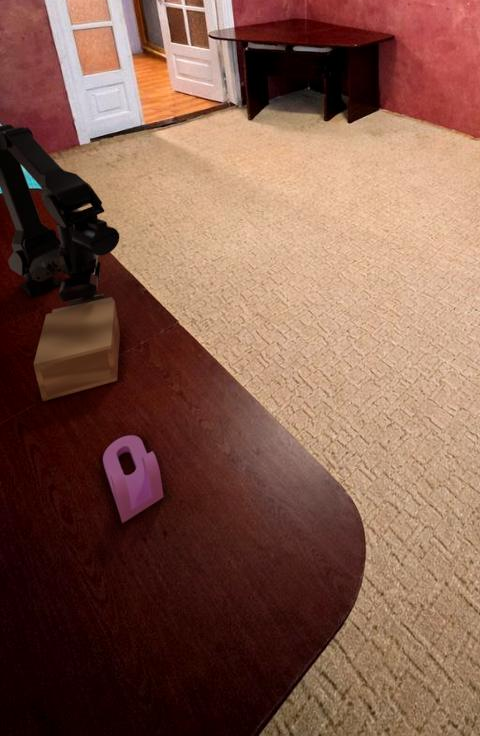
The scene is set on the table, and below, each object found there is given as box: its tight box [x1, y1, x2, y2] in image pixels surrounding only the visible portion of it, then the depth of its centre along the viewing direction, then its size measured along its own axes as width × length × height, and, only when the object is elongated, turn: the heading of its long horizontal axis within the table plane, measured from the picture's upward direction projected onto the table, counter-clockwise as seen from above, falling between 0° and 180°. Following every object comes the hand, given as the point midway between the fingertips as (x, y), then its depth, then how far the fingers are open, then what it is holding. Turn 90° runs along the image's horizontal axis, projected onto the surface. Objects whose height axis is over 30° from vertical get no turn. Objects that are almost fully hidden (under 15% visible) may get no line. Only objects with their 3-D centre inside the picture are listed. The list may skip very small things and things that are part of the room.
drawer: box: [51, 293, 114, 313], centre depth 97 cm, size 17×10×7 cm, turn 27°
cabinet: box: [33, 299, 121, 402], centre depth 93 cm, size 14×12×9 cm
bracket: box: [102, 434, 164, 524], centre depth 74 cm, size 13×6×7 cm, turn 42°
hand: (88, 300), depth 105 cm, fingers closed
